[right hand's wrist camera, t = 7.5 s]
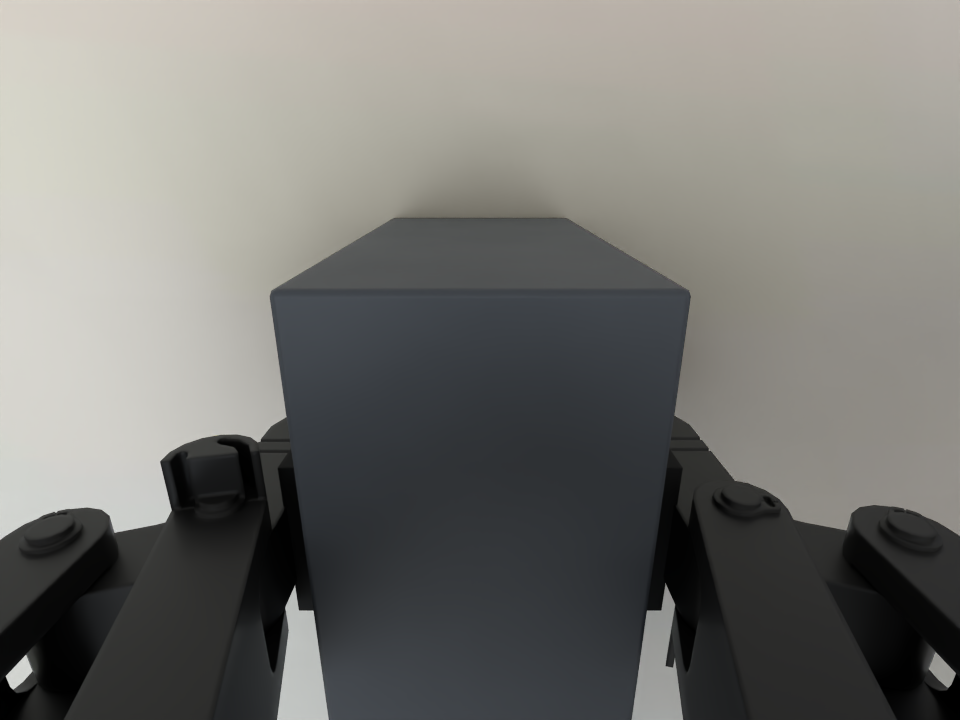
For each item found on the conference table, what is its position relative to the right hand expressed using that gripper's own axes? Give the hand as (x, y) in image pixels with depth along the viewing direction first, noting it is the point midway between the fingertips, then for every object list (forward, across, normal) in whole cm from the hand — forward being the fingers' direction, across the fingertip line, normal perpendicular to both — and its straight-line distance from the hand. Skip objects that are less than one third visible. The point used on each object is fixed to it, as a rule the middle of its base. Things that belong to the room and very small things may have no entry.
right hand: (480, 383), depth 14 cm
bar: (+1, 0, -35) cm, 35 cm away
